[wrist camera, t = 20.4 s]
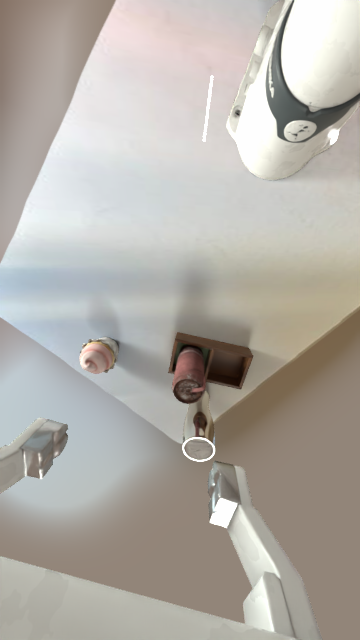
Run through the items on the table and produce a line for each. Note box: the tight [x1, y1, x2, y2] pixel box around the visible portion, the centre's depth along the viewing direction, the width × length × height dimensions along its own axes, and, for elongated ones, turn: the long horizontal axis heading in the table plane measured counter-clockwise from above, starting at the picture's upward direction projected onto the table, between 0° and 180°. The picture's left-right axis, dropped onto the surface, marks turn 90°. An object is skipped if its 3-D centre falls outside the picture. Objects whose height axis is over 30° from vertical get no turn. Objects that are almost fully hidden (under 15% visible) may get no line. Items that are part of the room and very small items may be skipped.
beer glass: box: [183, 390, 215, 461], centre depth 43 cm, size 7×7×15 cm
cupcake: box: [80, 337, 119, 374], centre depth 44 cm, size 9×9×10 cm
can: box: [172, 345, 206, 404], centre depth 39 cm, size 6×6×14 cm
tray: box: [168, 332, 253, 389], centre depth 45 cm, size 9×18×4 cm, turn 79°
